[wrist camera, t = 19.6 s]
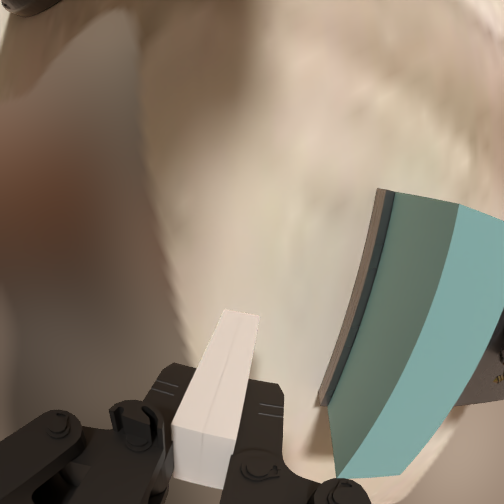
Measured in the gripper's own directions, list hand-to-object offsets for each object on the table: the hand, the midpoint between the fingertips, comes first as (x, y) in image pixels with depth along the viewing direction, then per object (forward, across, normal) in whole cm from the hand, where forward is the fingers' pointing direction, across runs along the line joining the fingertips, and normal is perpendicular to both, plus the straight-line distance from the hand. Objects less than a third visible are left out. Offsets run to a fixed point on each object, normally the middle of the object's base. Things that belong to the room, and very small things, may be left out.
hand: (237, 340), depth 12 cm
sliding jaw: (+4, +9, 0) cm, 9 cm away
